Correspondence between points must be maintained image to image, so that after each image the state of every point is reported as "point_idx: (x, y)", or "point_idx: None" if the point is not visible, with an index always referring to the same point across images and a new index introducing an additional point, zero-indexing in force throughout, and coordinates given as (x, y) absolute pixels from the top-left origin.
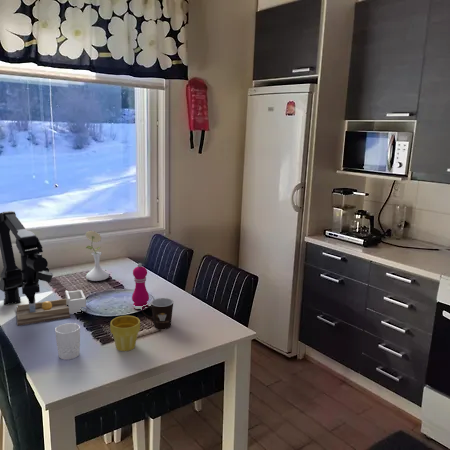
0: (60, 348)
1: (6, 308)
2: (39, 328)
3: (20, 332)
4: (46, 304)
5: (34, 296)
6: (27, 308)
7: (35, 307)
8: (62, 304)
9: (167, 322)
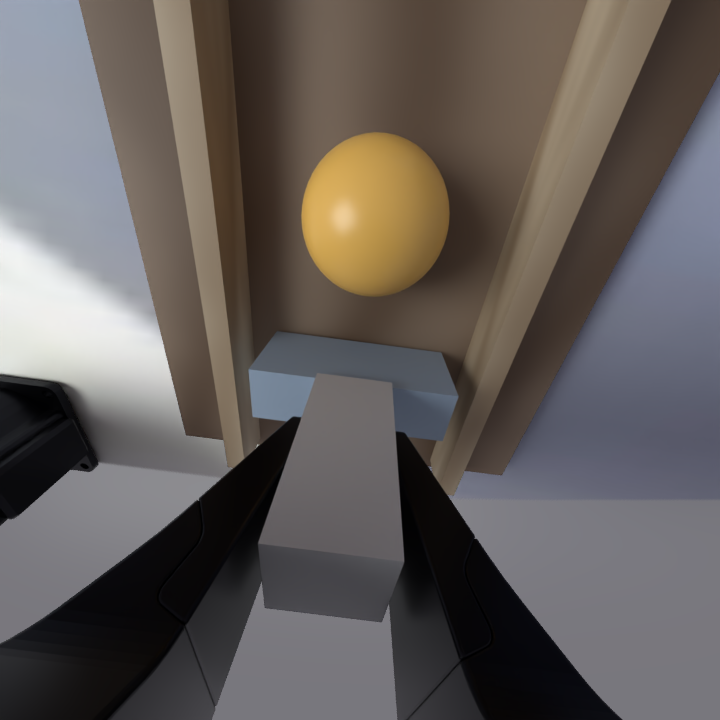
0: None
1: (163, 462)
2: (681, 357)
3: (615, 463)
4: (433, 246)
5: (476, 541)
6: None
7: (249, 321)
8: None
9: None
